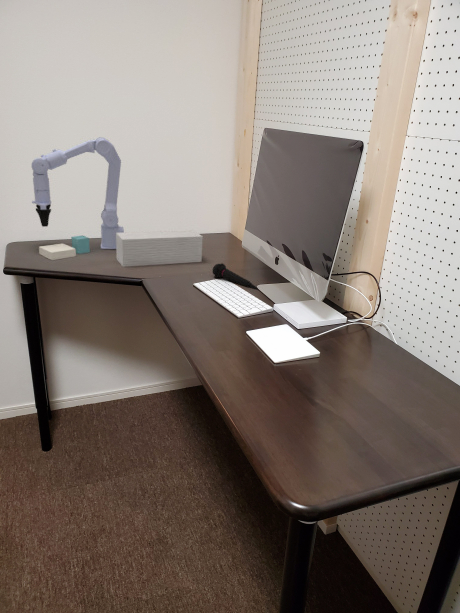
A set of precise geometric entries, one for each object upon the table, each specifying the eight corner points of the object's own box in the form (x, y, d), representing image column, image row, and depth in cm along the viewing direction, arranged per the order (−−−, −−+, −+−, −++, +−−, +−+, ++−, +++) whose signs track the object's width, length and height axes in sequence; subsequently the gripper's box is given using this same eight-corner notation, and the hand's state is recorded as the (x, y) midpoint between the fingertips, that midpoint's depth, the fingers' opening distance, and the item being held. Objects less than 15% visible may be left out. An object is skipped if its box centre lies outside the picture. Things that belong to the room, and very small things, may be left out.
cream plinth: (63, 250, 188) (62, 243, 187) (75, 256, 182) (75, 248, 180) (39, 254, 181) (38, 246, 180) (51, 260, 175) (51, 252, 174)
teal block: (83, 249, 191) (82, 235, 189) (89, 252, 188) (89, 237, 186) (72, 251, 188) (71, 236, 186) (78, 254, 185) (77, 239, 183)
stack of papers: (192, 255, 196) (193, 230, 192) (201, 262, 187) (202, 236, 183) (116, 259, 182) (116, 232, 178) (122, 267, 174) (122, 239, 170)
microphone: (258, 296, 163) (215, 276, 173) (264, 281, 162) (221, 261, 172) (250, 295, 158) (207, 274, 168) (256, 280, 157) (212, 260, 167)
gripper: (31, 187, 186) (34, 220, 191) (30, 192, 173) (34, 228, 178) (49, 187, 188) (52, 220, 193) (50, 192, 176) (53, 228, 181)
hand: (44, 224), depth 186 cm, fingers open, 7 cm apart
